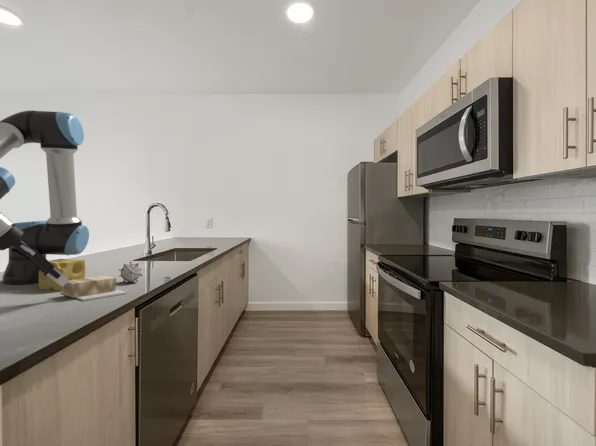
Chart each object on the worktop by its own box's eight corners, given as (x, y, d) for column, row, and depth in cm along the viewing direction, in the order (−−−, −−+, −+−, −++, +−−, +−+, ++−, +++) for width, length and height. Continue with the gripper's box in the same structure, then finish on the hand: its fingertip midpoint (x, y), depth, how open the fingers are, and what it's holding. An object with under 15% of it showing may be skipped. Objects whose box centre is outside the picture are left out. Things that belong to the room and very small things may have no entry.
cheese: (62, 291, 124) (62, 263, 124) (36, 289, 127) (36, 261, 126) (85, 285, 135) (86, 259, 134) (61, 283, 137) (61, 257, 137)
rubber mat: (83, 301, 113) (83, 299, 113) (61, 293, 122) (61, 291, 122) (126, 293, 124) (126, 292, 124) (103, 287, 133) (103, 285, 133)
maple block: (72, 283, 114) (116, 278, 125) (63, 280, 118) (105, 275, 129) (72, 297, 114) (115, 290, 126) (62, 294, 118) (105, 287, 130)
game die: (135, 291, 144) (151, 272, 144) (116, 286, 138) (132, 267, 137) (128, 277, 150) (143, 259, 149) (110, 272, 143) (125, 253, 142)
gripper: (-19, 240, 102) (47, 289, 116) (-4, 243, 95) (64, 296, 109) (4, 221, 106) (65, 271, 121) (20, 223, 99) (83, 276, 113)
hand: (65, 283), depth 115 cm, fingers closed
